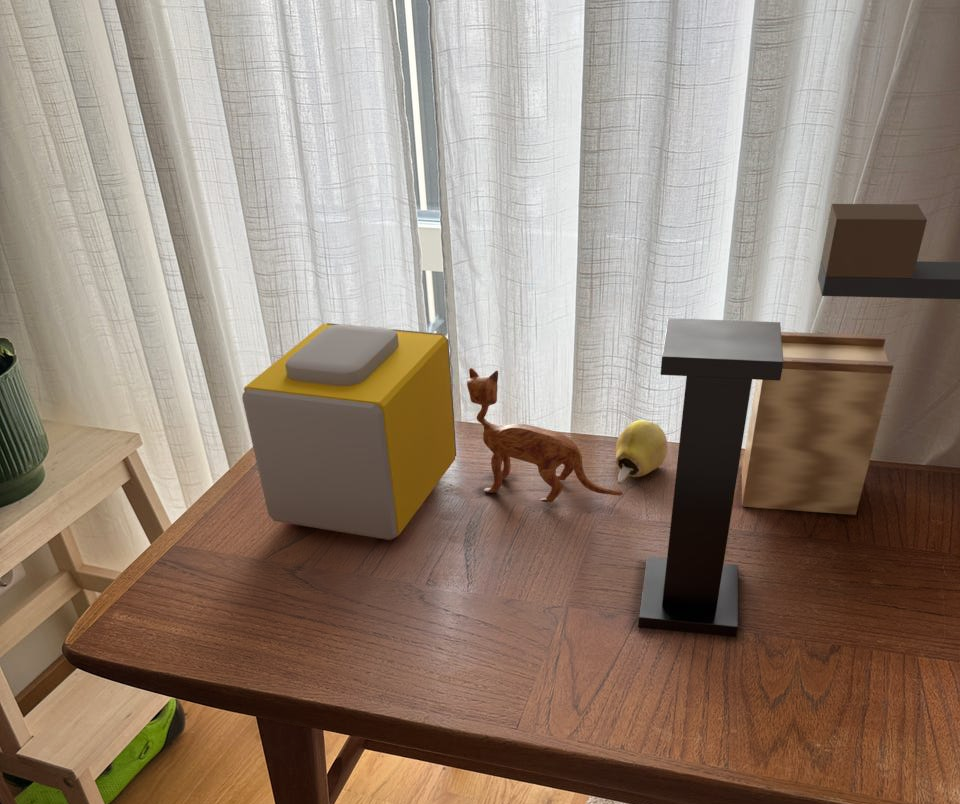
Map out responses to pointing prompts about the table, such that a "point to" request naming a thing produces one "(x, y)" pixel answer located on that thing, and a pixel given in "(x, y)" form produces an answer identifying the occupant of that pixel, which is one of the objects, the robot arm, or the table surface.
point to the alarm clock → (353, 428)
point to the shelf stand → (707, 470)
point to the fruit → (640, 449)
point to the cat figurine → (527, 444)
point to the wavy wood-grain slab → (816, 424)
